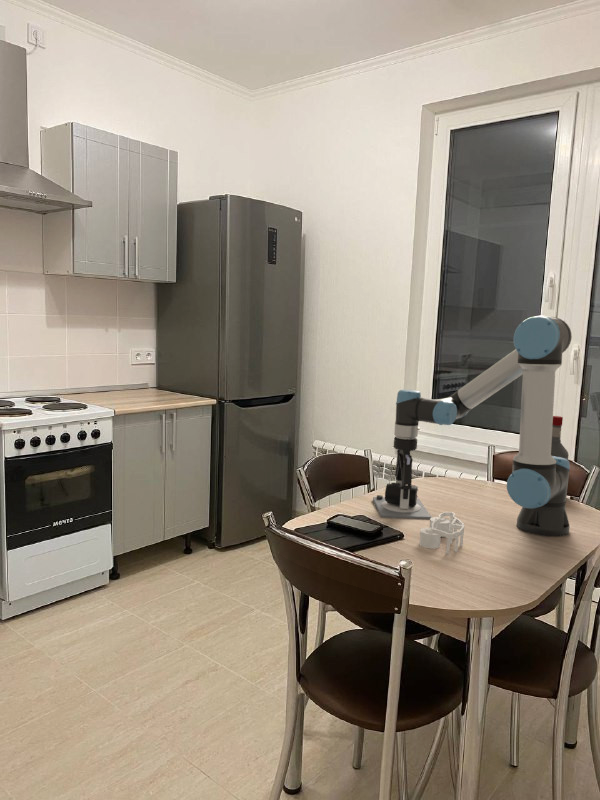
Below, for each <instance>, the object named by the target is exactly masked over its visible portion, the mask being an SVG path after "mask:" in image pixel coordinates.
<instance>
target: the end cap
mask: <svg viewBox="0 0 600 800" xmlns="http://www.w3.org/2000/svg"><path fill="white" fill-rule="evenodd" d="M411 486H412V488H411V489H410V493H409V506H411V507H415V505H416V501H417V499H418V497H419V496H418V491H419V489H418V488H419V487H418V486H417V485H415V484H411ZM400 487H402V485H400V484H399V483H396V482H391V483H387V484H386V486H385V492H384V497H385V501H386V502H387V503H390V504H397V505H400V496H401V489H400Z"/></svg>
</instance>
